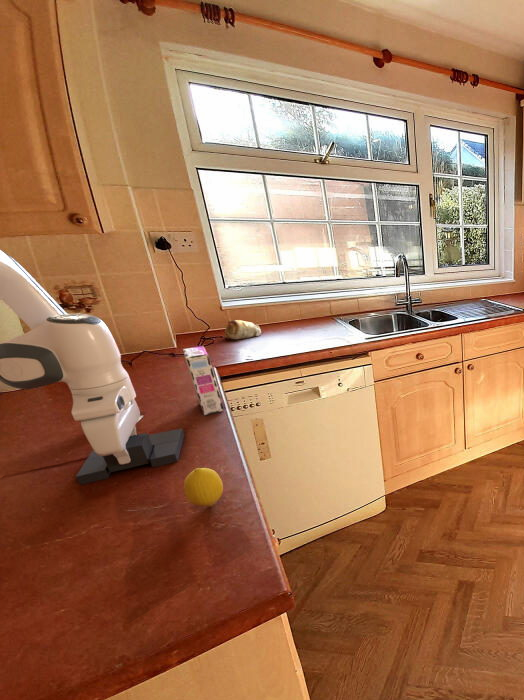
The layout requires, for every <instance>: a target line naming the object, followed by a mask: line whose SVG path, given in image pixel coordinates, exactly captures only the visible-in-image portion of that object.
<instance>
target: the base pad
mask: <svg viewBox="0 0 524 700" xmlns="http://www.w3.org/2000/svg"><path fill="white" fill-rule="evenodd" d="M148 436H149V439H150V441H151V444H152V446H153V452H152V454H151V457H150V462H149V463H150V465H151V467H152V468H157V467H161V466H166V465H169V464H174V463H177V462H178V461H179V459H180V454H181V450H182V446H183V443H184V438H185V433H184V429H183V427H182V428H181V427H180V428H176V429H172V430H167V431H162V432H156V433H153V434H148ZM111 474H112V472H110V471H109V469H108V467H107V465H106V462H105V460H104V458H103V456H99V455H98V454H97V453H96V452H95V451H94V450H93V449H92V451H91V452H90V454H89V455H88V457H87V458H86V460H85V461H84V463H83V465H82V466H81V467H80V469H79V471H78V472H77V474H76V475H75V478H76V480H77V483H78V485H79V486H81V485H85V484H89V483H90V484H91V483H95V482H98V481H103V480H106V479H109V478H110V475H111Z"/></svg>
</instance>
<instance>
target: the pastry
mask: <svg viewBox="0 0 524 700" xmlns="http://www.w3.org/2000/svg"><path fill="white" fill-rule="evenodd" d="M224 334H225V335H224V338H225V339H227V340H228V339H229V340H243V339H249V338H254V337H260V335H261V334H262V330H261V327H260V325H256V324H255V323H253V322H252V321H251V322H250V321H245V320H241V319H237V320H236V319H233V320H229V321H228V322H227V325H226V326H225V329H224Z"/></svg>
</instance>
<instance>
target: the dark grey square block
mask: <svg viewBox="0 0 524 700" xmlns="http://www.w3.org/2000/svg"><path fill="white" fill-rule="evenodd" d="M148 435H149V433H148V432H143V433H140V434H137V435H133V436H130V437H129V439H128V441H127V443H126V450H127V452H130V455H131V457H132V458H131V461H130V462H129V463H126V464H119V462H118V460H117V458H116V457H115V456H114V455H113V454H111V455H106V456H103V458H104V460H105V462H106V465H107V467H108V469H109V471H110V472H111V473H115V472H118V471H122V470H127V469H131V468H136V467H140V466H145V465H148V464H150V463H151V462H150V457H151V454H152V452H153V446H152V444H151V441H150V439H149V436H148Z"/></svg>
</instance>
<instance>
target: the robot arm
mask: <svg viewBox="0 0 524 700" xmlns="http://www.w3.org/2000/svg"><path fill="white" fill-rule="evenodd" d="M0 300H1V301H2V302H3V303H4V304H5V305H6V306H8V307H9V309H11V310H12V311H13V313H14V314H15V315H17V316H18V317H19V318H20V320H21V321H23V322H24V323H25V324H26V325H27V327H29V329H30V330H29V331H27V332H25V333H22V334H20V335H17V336H15V337H12V338H8V339H6V340H3V341H1V342H0V383H3V384H4V385H6V386H8V387H12V388H15V389H19V390H33V389H37V388H42V387H46V386H49V385H53V384H56V383H65V384H66V385H67V386H68V389H69V391H70V393H71V398H72V408H71V412H70V413H71V416H72V417H73V420H74V421H75V422H80V426H81V430H82V432H83V434H84V435H85V438H86V439H87V441H88V443H89V445H90V447H91V448H92V451H93V450H94V451H95V452H96V453H97V454H98V455H99V456H106V455H111V454H113V455H114V456H115V457H116V458H117V460H118V462H119V464H126V463H129V462H130V461H131V458H132V457H131V455H130V452H127V450H126V443H127V441H128V439H129V437H130V436H133V435H138V434H137V427H136V425H137V423H138V422H139V421H138V419H139V417H140V416H141V412H140V407H139V405H138V403H137V401H136V399H135V398H136V397H137V394H136V393H137V392H136V391H135V388H134V386H133V383H132V381H131V378H130V376H129V375H130V374H129V373H128V372H127V370H126V369H125V368H124V367H123V364H122V355H121V352H120V349H119V347H118V345H117V343H116V340H115V339H114V336H113V334H112V332H111V331H110V329H109V328H108V326H107V325H106V323H105V322H104V321H103V320H102V319H101V318H99V317H98V316H94V315H92V314H85V313H67V312H66V311H65V310H64V309H63V307H62V306H60V304H59V303H58V302H57V301H56V300H55V299H54V298H53V297H52V296H51V295H50V294H49V293H48V292H47V291H46V290H45V289H44V288H43V286H42V285H41V284H40V283H38V281H37V280H36V279H35V278H34V277H33V276H32V275H31V274H30V273H29V272H28V271H27V270H26V269H25V268H24V266H22V265H21V264H20V263H19V262H18V261H17V260H15V259H14V258H13V257H12V256H11V255H9V254H8V253H6V252H5V251H4V250H2V249H0ZM137 421H138V422H137Z"/></svg>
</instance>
